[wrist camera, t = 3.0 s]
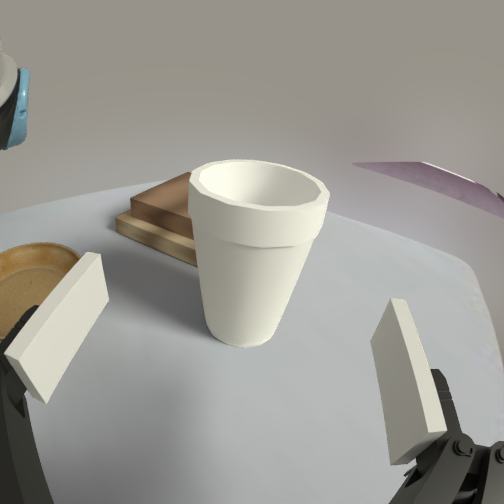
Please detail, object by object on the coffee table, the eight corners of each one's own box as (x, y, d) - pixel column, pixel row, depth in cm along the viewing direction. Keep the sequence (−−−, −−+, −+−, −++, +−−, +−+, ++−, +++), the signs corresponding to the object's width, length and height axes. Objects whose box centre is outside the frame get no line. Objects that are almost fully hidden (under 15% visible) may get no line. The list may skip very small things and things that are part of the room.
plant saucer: (-23, 275, 27) (-29, 257, 26) (81, 250, 34) (78, 231, 33) (-37, 370, 17) (-51, 350, 16) (102, 337, 24) (96, 316, 23)
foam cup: (274, 283, 33) (297, 162, 26) (309, 351, 26) (355, 210, 19) (182, 291, 30) (183, 159, 23) (196, 368, 23) (198, 212, 16)
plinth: (116, 231, 38) (113, 199, 36) (185, 194, 50) (186, 167, 47) (215, 273, 33) (217, 236, 31) (271, 220, 45) (276, 191, 43)
